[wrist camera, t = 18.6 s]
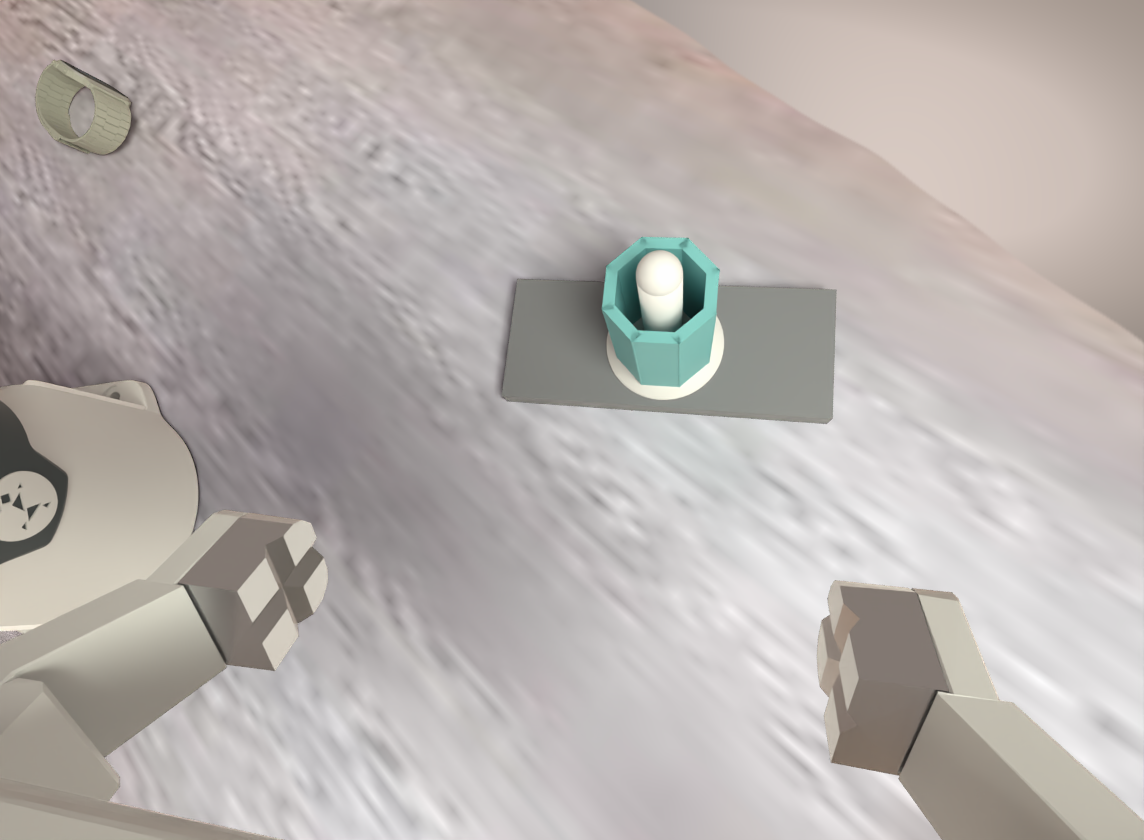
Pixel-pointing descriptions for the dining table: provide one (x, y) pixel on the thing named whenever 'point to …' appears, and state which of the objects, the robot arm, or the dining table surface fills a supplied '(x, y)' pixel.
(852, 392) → the dining table surface
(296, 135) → the dining table surface
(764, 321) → the post stand
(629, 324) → the collar
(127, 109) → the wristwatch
